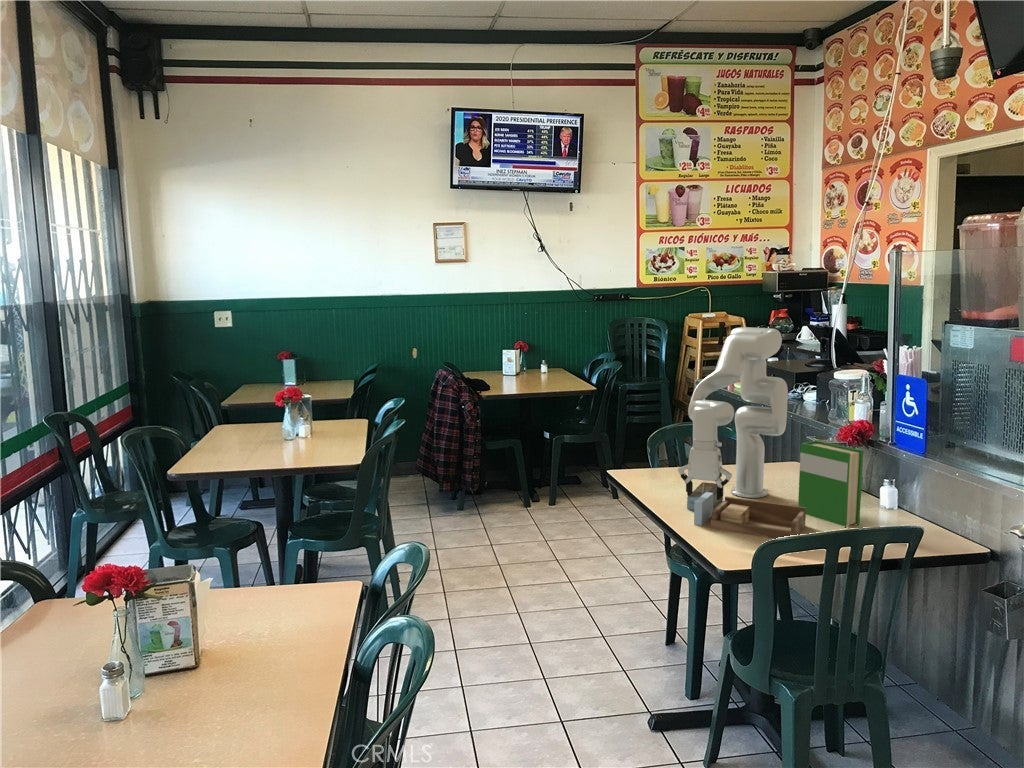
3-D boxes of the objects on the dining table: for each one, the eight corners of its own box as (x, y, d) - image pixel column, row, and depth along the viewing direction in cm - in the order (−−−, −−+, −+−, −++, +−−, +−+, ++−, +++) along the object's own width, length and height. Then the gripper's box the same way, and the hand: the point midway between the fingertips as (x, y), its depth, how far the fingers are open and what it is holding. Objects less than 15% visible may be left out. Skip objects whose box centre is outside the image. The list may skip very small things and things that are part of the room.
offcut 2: (730, 512, 270) (730, 508, 270) (749, 515, 267) (749, 510, 267) (720, 522, 260) (720, 517, 260) (739, 525, 257) (739, 520, 257)
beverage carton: (685, 513, 279) (686, 494, 278) (701, 498, 296) (701, 480, 295) (709, 516, 275) (710, 496, 274) (723, 501, 292) (724, 482, 291)
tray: (725, 517, 273) (725, 496, 272) (805, 528, 261) (806, 507, 260) (710, 531, 260) (711, 509, 259) (793, 544, 247) (794, 521, 246)
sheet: (705, 515, 274) (706, 492, 273) (712, 516, 273) (713, 493, 271) (693, 526, 264) (694, 501, 262) (701, 527, 262) (701, 502, 261)
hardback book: (859, 524, 264) (863, 450, 261) (844, 529, 260) (848, 453, 257) (812, 511, 279) (815, 440, 276) (797, 514, 275) (800, 443, 272)
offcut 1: (730, 508, 270) (730, 503, 269) (749, 510, 267) (749, 506, 266) (720, 517, 260) (720, 512, 260) (739, 520, 257) (740, 515, 257)
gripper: (735, 444, 263) (734, 496, 266) (682, 439, 272) (682, 489, 275) (728, 450, 257) (727, 503, 260) (674, 444, 266) (674, 496, 269)
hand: (704, 496), depth 268 cm, fingers open, 9 cm apart
